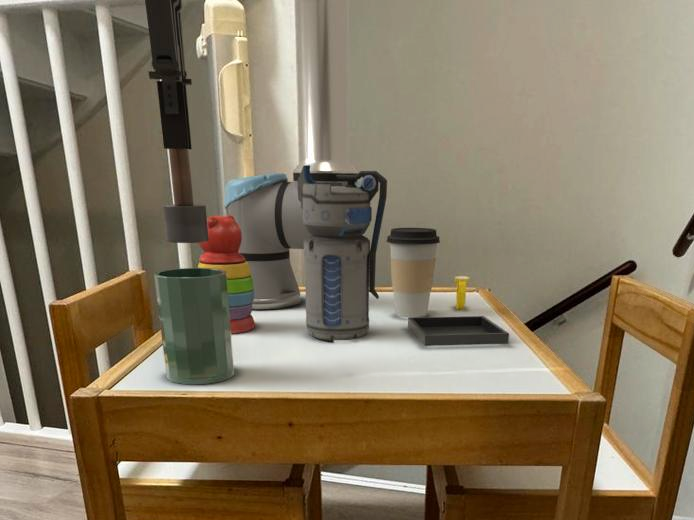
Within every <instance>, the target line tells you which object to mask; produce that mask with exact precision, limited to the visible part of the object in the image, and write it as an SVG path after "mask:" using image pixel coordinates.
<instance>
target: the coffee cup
mask: <svg viewBox="0 0 694 520" xmlns="http://www.w3.org/2000/svg"><path fill="white" fill-rule="evenodd" d="M440 239H441V238H440V236H439V235H438V233H437V229H435V228H430V227H429V228H428V227H396V228H391V229H390V233H389V235H387V237H386V243H389V245H390V273H391V287H392V291H393V304H394V314H395V316H396V317H402V318H413V317H427V315H428V310H429V304H430V297H431V291H432V290H433V280H434V276H435V275H434V274H435V268H436V260H437V258H436V255H437V247H438V244H440V243H441V240H440Z"/></svg>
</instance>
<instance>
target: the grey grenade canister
mask: <svg viewBox="0 0 694 520" xmlns="http://www.w3.org/2000/svg"><path fill="white" fill-rule="evenodd" d="M336 177H337V178H339V179H346V181H347V185H346V186H345V187H342V183H317V182H315V181H313V180H312V178H311V176H310V165H305V166H303V168H302V170H301V173H300V176H299V178H298V200H299V201H301V208H302V209H303V224H304V225H305V227H306V228H307V230H308V232H309V233H310V234H311V236H309V237H307V238H306V239H305V240H304V249H303V254H304V257H303V258H304V288H305V290H304V291H305V316H306V317H305V326H306V327H305V328H306V331H307V332H308V333H309V335H310V336H311V337H314V338H316V339H319V340H321V341H329V342H334V340H335V341H342V340H353V339H358V338H363V337H364V336H366V335H367V333H368V331H369V328H370V315H369V314H370V313H369V311H370V309H369V308H370V294H371V295H372V296H373V297H374V298H375V299H376V300H379V298H380V296H379V294H378V292H377V290H376V265H377V264H376V263H377V260H376V259H377V249H378V245H379V239H380V234H381V229H382V223H383V220H384V219H383V218H384V213H385V207H386V204H387V203H386V201H387V196H388V195H387V194H388V193H387V192H388V179H387V178H385V177H384V176H383V175H382V174H381V173H380V172H378V171H377V170H361V171H359V172H357V174H356V175H336ZM361 178H362V180H361V183H362V185H361V187H357V186H356V185H355V181H356V180H357V181H358V180H360V179H361ZM377 193H379V194H378V195H379V197H378V202H377V209H376V214H375V220H374V226H373V231H372V238H371V240H370V239H369V238H368V237H367V236H365V235H364V234H365V233H366V231H367V230H368V229H369V227H370V225H371V222H372V221H373V220H372V219H373V218H372V217H373V214H372V210H373V208H372V206H371V202H372V200H373V198H374V197H375V196H376V195H377Z"/></svg>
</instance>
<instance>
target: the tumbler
mask: <svg viewBox="0 0 694 520" xmlns="http://www.w3.org/2000/svg"><path fill="white" fill-rule="evenodd" d="M153 277H154V278H153V279H154V286H155V293H156V302H157V308H158V310H157V311H158V319H159V327H160V333H161V341H162V343H161V344H162V350H163V351H162V352H163V359H164V366H165V372H166V377H167V379H168V380H169V381H170V382H172V383H176V384H182V385H209V384H216V383H220V382H224V381H227V380H229V379H232V377H233V376H234V375H235V363H234V350H233V348H234V347H233V337H232V335H233V334H232V333H231V323H230V310H229V297H228V285H227V272H226V271H224V270H221V269H214V268H198V267H183V268H182V267H180V268H179V267H178V268H169V269H162V270H158V271H156V272H155V273H153Z"/></svg>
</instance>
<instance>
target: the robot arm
mask: <svg viewBox="0 0 694 520" xmlns="http://www.w3.org/2000/svg"><path fill="white" fill-rule="evenodd" d="M144 4H145V11H146V20H147V29H148V37H149V44H150V45H149V46H150V53H151V67H152V69H153V70H151V71H148V77H149V80H156V87H157V97H158V106H159V115H160V125H161V133H162V142H163V149H165V150H169V149H188V150H193V149H192V148H193V147H192V136H191V125H190V115H189V105H188V104H189V103H188V93H187V86H192V85H193V81H192V78H187V76H188V73H187V70H186V62H185V61H186V60H185V49H184V36H183V25H182V10H183V1H182V0H144ZM296 18H297V19H296V21H297V22H296V23H297V26H296V27H297V57H298V59H297V60H298V62H297V63H298V93H299V94H298V95H299V96H298V97H299V98H298V99H299V128H300V129H299V132H300V133H299V134H300V161H299V163H298V164H297V165H296V166H295V168H294V169H293V170H292V179H293V180H292V181H289V178H288V177H287V174H286V173H283V172H279V173H278V172H277V173H269V174H261V175H252V176H246V177H245V176H244V177H239V178H235V179H230V180H229V181H228V182H227V183H226V184H225V186H224V209H225V216H227V215H231V216H233V217H234V219H235V222H236V223H237V224H238V225H239V227H240V229H241V233H242V241H241V245H240V248H239V251H238V253H240V254H242V255H243V257H244V258H245V261H246V262H248V264H249V268H250V271H251V276H252V279H253V285H254V289H253V290H254V300H253V302H252V304H253V305H252V310H276V309H285V308H290V307H294V306H297V305H298V304H300V303H301V290H300V288H299V285H298V281H297V279H296V276H295V273H294V269H293V268H292V267H293V266H292V264H291V256H290V254H291V253H290V250H304V240H305V239H306V238H307V237H309V236H311V234H310V233H309V232H308V230H307V228H306V227H305V225H304V224H303V209H302V208H301V201H299V200H298V178H299V176H300V173H301V170H302V168H303V166H305V165H310V176H311V178H312V180H313V181H315V182H317V183H342V187H345V186H346V185H347V181H346V179H339V178H337V177H336V175H356V174H358V170H357V169H356V168H355V167H354V165H353V164H352V163H351V161H350V0H296ZM178 46H179V52H178ZM179 54H180V64H179ZM180 65H181V71H180ZM181 76H182V81H176V80H181ZM161 80H162V81H161ZM355 185H356V186H357V187H361V185H362V181H358V180H356V181H355Z"/></svg>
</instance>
